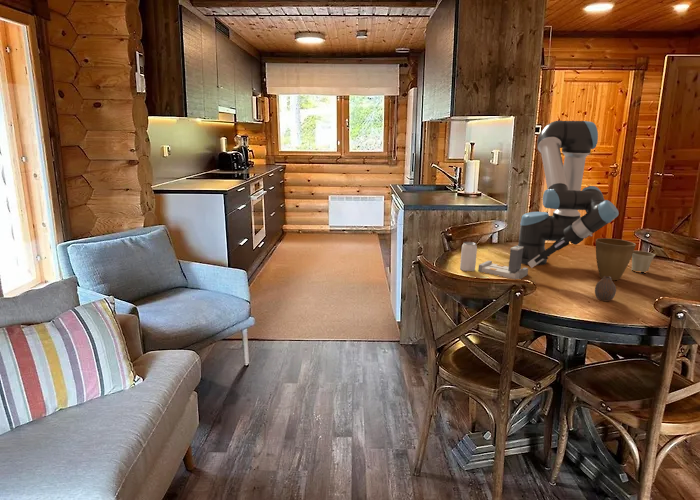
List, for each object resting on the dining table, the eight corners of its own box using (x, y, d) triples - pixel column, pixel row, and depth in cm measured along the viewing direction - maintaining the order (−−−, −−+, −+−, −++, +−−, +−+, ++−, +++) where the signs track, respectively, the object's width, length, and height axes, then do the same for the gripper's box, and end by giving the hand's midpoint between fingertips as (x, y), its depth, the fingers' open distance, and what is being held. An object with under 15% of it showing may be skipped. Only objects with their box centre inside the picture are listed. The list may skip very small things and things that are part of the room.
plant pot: (632, 285, 200) (639, 247, 196) (592, 280, 205) (597, 243, 201) (626, 275, 213) (632, 239, 209) (588, 271, 218) (594, 236, 214)
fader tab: (520, 272, 211) (523, 246, 208) (515, 275, 206) (517, 249, 203) (513, 271, 212) (516, 245, 210) (507, 274, 208) (510, 247, 205)
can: (475, 272, 213) (477, 245, 210) (460, 271, 214) (462, 244, 211) (474, 268, 219) (477, 242, 216) (459, 267, 220) (461, 241, 217)
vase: (589, 296, 185) (593, 274, 183) (607, 296, 186) (610, 274, 184) (600, 302, 178) (604, 279, 176) (618, 302, 179) (622, 279, 177)
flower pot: (650, 270, 222) (653, 252, 220) (653, 276, 214) (656, 256, 212) (626, 267, 226) (630, 249, 224) (628, 273, 217) (631, 254, 215)
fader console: (527, 274, 211) (528, 268, 210) (518, 280, 203) (519, 273, 202) (487, 266, 222) (488, 260, 221) (478, 271, 214) (478, 264, 213)
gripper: (579, 242, 184) (530, 275, 198) (588, 236, 194) (541, 269, 208) (566, 226, 186) (518, 260, 200) (576, 221, 196) (529, 254, 210)
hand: (530, 265), depth 204 cm, fingers closed
